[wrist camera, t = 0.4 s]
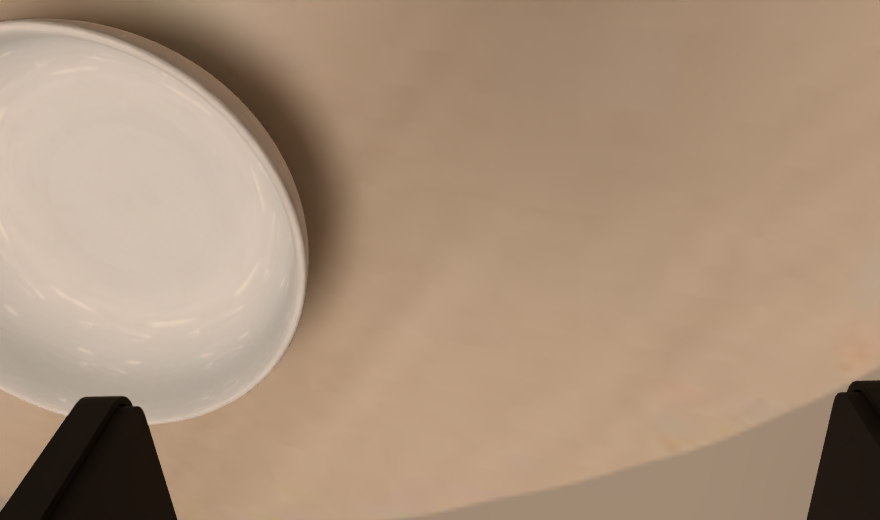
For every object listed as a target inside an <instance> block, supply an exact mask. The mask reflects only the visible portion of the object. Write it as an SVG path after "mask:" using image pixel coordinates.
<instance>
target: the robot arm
mask: <svg viewBox="0 0 880 520" xmlns="http://www.w3.org/2000/svg"><path fill="white" fill-rule="evenodd" d="M0 520H177V517H176V514H175V511H174V507H173V504H172V501H171V498H170V494H169V491H168V488H167V485H166V481H165V478H164V475H163V472H162V468H161V465H160V462H159V459H158V455H157V452H156V449H155V446H154V442H153V439H152V436H151V433H150V429H149V426H148V423H147V420H146V416H145V414H144V411H143V409H142V408H141V407H139V406H133V405H132V403H131V401H130V400H129V399H128V398H127V397H125V396H93V397H83V398H81V399H80V400H79V401H78V402H77V403H76V404H75V406H74V407H73V408H72V410H71V411H70V413H69V414H68V416H67V417H66V418H65V420H64V421H63V423H62V424H61V426H60V427H59V429H58V430H57V431H56V433H55V434H54V436H53V437H52V439H51V440H50V442H49V443H48V444H47V446H46V447H45V449H44V450H43V452H42V453H41V454H40V456H39V457H38V459H37V460H36V462H35V463H34V465H33V466H32V467H31V469H30V470H29V472H28V473H27V475H26V476H25V477H24V479H23V480H22V482H21V483H20V485H19V486H18V488H17V489H16V490H15V492H14V493H13V495H12V496H11V498H10V499H9V501H8V502H7V503H6V505H5V506H4V508H3V509H2V510H1V512H0ZM807 520H880V380H879V381H855V382H852V383H851V385H850V386H849V388H848V390H847V392H841V393H838V394H837V395H836V396H835V399H834V403H833V407H832V411H831V415H830V420H829V424H828V429H827V433H826V437H825V442H824V446H823V451H822V455H821V459H820V464H819V468H818V473H817V477H816V481H815V486H814V490H813V494H812V499H811V503H810V508H809V512H808V516H807Z"/></svg>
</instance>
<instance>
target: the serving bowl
mask: <svg viewBox="0 0 880 520" xmlns="http://www.w3.org/2000/svg"><path fill="white" fill-rule="evenodd" d="M308 267H309V248H308V235H307V228H306V222H305V217H304V212H303V208H302V204H301V201H300V197H299V194H298V191H297V188H296V186H295V183H294V180H293V177H292V175H291V173H290V171H289V169H288V167H287V165H286V162H285V160H284V159H283V157H282V155H281V153H280V152H279V150H278V148H277V146H276V145H275V143H274V142H273V140H272V139H271V137H270V136H269V134H268V133H267V131H266V130H265V128H264V127H263V126H262V124H261V123H260V122H259V121H258V119H257V118H256V117H255V116H254V115H253V113H252V112H251V111H250V110H249V109H248V108H247V107H246V105H245V104H244V103H243V102H242V101H241V100H240V99H239V98H238V97H237V96H236V95H235V94H233V93H232V92H231V91H230V90H229V89H228V88H227V87H226V86H225V85H224V84H222V83H221V82H220V81H218V80H217V79H216V78H215V77H213V76H212V75H211V74H210V73H208V72H207V71H206V70H204V69H203V68H201V67H200V66H198V65H197V64H195V63H194V62H192V61H190V60H189V59H187V58H185V57H184V56H182V55H180V54H179V53H177V52H175V51H173V50H171V49H169V48H167V47H165V46H163V45H161V44H159V43H157V42H154V41H152V40H149V39H147V38H144V37H142V36H139V35H137V34H134V33H131V32H127V31H124V30H121V29H118V28H114V27H110V26H106V25H102V24H97V23H92V22H86V21H79V20H69V19H57V18H28V19H13V20H2V21H0V389H1V390H3V391H5V392H7V393H9V394H11V395H13V396H15V397H17V398H19V399H21V400H24V401H26V402H28V403H30V404H33V405H36V406H38V407H41V408H44V409H46V410H49V411H52V412H55V413H59V414H62V415H66V416H68V414H69V413H70V411H71V410H72V408H73V407H74V406H75V404H76V403H77V402H78V401H79V400H80V399H81V398H83V397H93V396H125V397H127V398H128V399H129V400H130V401H131V403H132V405H133V406H139V407H141V408H142V409H143V411H144V414H145V416H146V420H147V423H148V425H155V424H164V423H172V422H177V421H182V420H187V419H190V418H194V417H198V416H201V415H204V414H207V413H210V412H212V411H215V410H217V409H219V408H222V407H224V406H226V405H228V404H229V403H231V402H233V401H235V400H237V399H239V398H240V397H242V396H243V395H245V394H246V393H248V392H249V391H250V390H252V389H253V388H254V387H255V386H257V385H258V384H259V383H260V382H261V381H262V380H263V379H264V378H265V377H266V376H267V375H268V374H269V373H270V372H271V371H272V369H273V368H274V367H275V366H276V365H277V364H278V362H279V361H280V360H281V358H282V357H283V355H284V353H285V352H286V350H287V349H288V347H289V345H290V343H291V341H292V339H293V337H294V335H295V332H296V330H297V328H298V325H299V322H300V319H301V315H302V311H303V308H304V303H305V298H306V291H307V280H308Z"/></svg>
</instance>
